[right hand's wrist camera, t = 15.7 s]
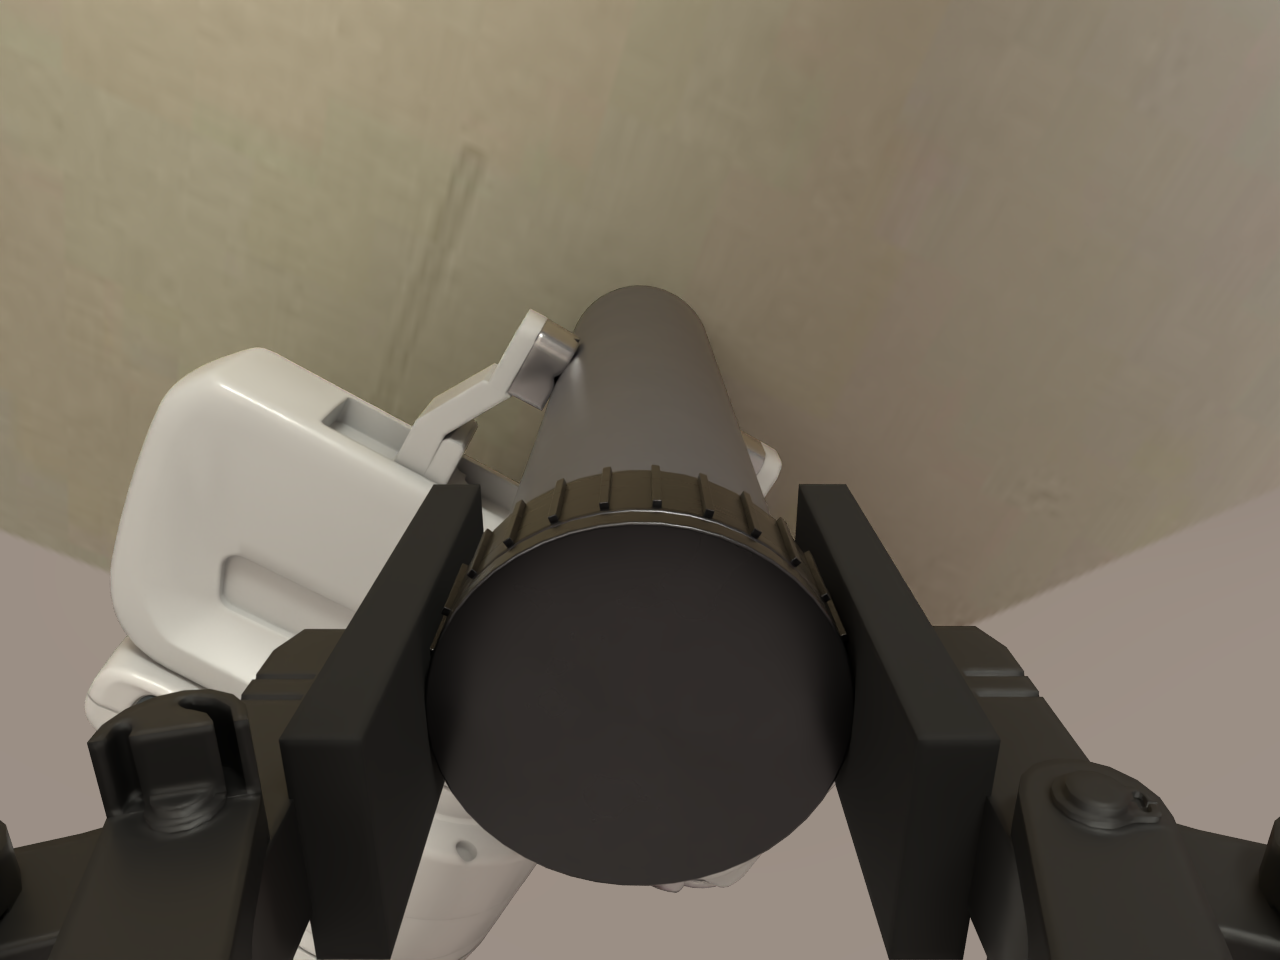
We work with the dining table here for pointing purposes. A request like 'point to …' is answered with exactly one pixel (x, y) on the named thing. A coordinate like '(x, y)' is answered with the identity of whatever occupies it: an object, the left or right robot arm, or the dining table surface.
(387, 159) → the dining table surface
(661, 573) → the lid
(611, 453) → the dark gray cylinder
